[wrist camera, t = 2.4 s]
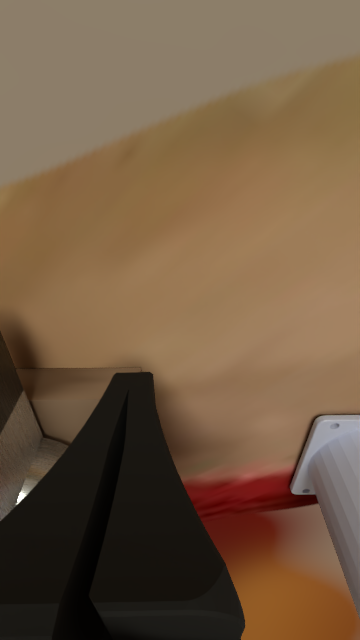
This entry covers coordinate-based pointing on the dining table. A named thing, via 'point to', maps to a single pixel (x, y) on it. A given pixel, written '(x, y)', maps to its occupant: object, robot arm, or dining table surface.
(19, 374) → the walnut base
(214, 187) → the dining table surface
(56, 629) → the robot arm
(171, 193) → the dining table surface
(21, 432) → the lever handle
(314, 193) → the dining table surface
